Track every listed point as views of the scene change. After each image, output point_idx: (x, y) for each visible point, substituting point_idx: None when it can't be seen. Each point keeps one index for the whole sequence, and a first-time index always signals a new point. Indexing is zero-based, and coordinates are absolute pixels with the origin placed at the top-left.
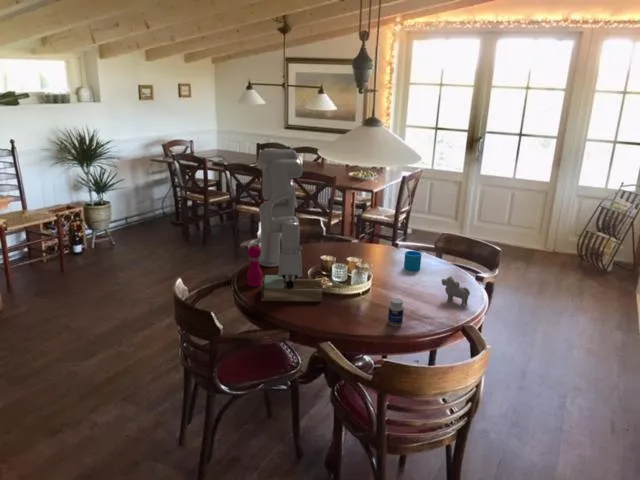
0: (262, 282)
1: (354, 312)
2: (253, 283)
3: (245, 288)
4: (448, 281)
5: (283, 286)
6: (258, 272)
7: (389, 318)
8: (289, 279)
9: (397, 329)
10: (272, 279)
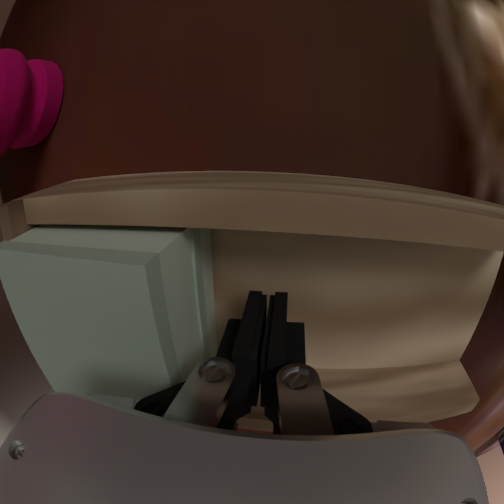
0: None
1: (485, 411)
2: (16, 148)
3: (13, 175)
4: None
5: (199, 318)
6: None
7: (501, 445)
8: (261, 204)
9: (494, 441)
10: (71, 364)
